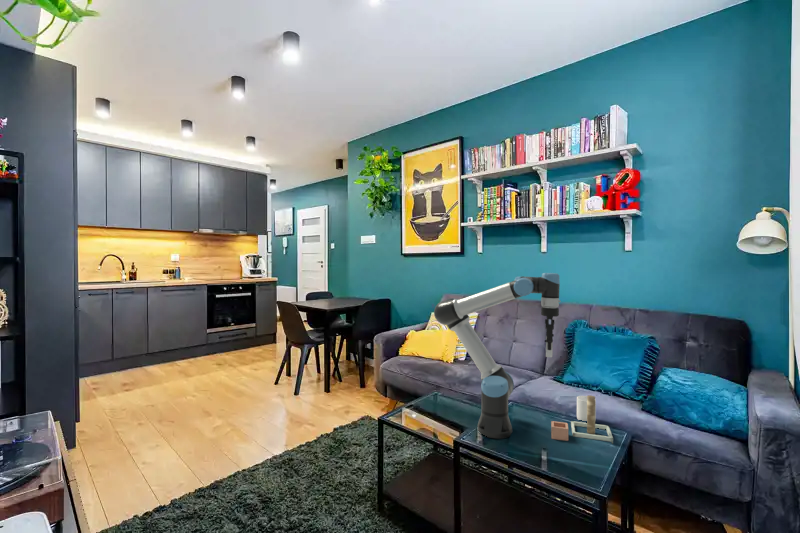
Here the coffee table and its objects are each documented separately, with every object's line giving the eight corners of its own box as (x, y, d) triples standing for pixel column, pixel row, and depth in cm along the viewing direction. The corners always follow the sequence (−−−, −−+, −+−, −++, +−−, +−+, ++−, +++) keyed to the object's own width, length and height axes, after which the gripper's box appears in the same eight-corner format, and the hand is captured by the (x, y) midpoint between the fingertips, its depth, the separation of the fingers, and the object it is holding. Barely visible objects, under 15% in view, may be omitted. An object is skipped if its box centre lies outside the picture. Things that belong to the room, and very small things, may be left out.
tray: (572, 438, 171) (572, 432, 171) (571, 426, 183) (571, 421, 183) (613, 444, 165) (613, 438, 165) (608, 431, 178) (608, 425, 178)
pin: (587, 433, 173) (587, 397, 173) (586, 430, 176) (586, 395, 176) (595, 435, 172) (595, 398, 172) (594, 432, 175) (594, 395, 175)
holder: (551, 440, 169) (551, 426, 168) (551, 434, 175) (551, 420, 175) (568, 443, 166) (568, 429, 166) (567, 436, 172) (567, 423, 172)
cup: (592, 416, 195) (592, 396, 195) (601, 426, 183) (601, 404, 183) (574, 416, 196) (574, 395, 196) (582, 425, 184) (582, 404, 184)
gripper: (559, 310, 168) (558, 360, 168) (558, 304, 191) (557, 348, 191) (540, 309, 170) (539, 359, 171) (541, 303, 194) (540, 347, 194)
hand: (549, 353), depth 181 cm, fingers open, 13 cm apart
